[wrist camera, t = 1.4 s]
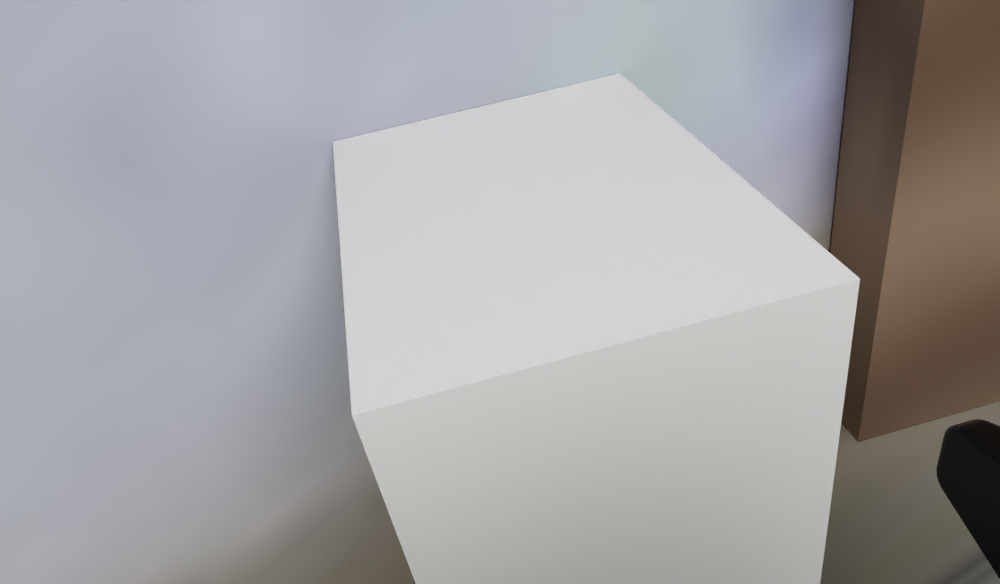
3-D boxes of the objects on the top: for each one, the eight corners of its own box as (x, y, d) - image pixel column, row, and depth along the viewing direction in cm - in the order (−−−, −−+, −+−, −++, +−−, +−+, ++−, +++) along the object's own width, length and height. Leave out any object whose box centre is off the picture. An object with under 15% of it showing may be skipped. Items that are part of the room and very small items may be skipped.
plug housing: (646, 436, 16) (801, 724, 11) (442, 494, 15) (505, 820, 10) (620, 73, 11) (860, 277, 6) (333, 142, 11) (351, 415, 6)
